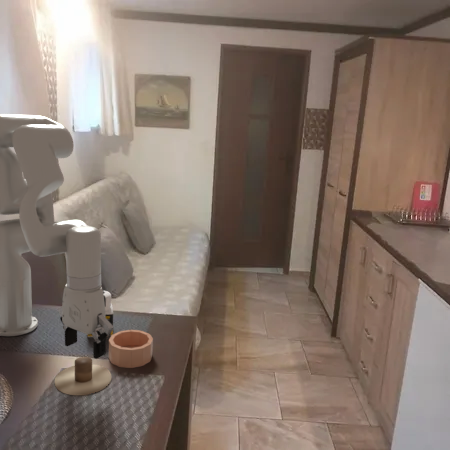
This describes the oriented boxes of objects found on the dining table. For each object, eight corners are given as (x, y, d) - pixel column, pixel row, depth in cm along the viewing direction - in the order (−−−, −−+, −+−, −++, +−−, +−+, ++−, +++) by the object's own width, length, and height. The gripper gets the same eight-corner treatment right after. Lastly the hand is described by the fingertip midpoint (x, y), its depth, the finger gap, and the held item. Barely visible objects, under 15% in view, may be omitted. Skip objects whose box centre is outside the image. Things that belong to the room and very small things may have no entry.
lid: (42, 383, 113) (42, 362, 112) (86, 361, 124) (86, 342, 123) (80, 403, 106) (80, 382, 105) (122, 379, 117) (123, 359, 116)
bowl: (100, 357, 125) (100, 340, 124) (130, 342, 134) (130, 326, 133) (131, 372, 120) (131, 354, 118) (160, 355, 129) (160, 338, 127)
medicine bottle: (87, 337, 135) (87, 297, 133) (87, 326, 142) (87, 288, 139) (113, 336, 137) (113, 296, 135) (111, 325, 144) (112, 287, 141)
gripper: (45, 276, 110) (47, 345, 114) (98, 294, 101) (98, 367, 105) (71, 269, 117) (73, 334, 120) (123, 285, 108) (123, 355, 111)
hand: (85, 350), depth 113 cm, fingers open, 9 cm apart
